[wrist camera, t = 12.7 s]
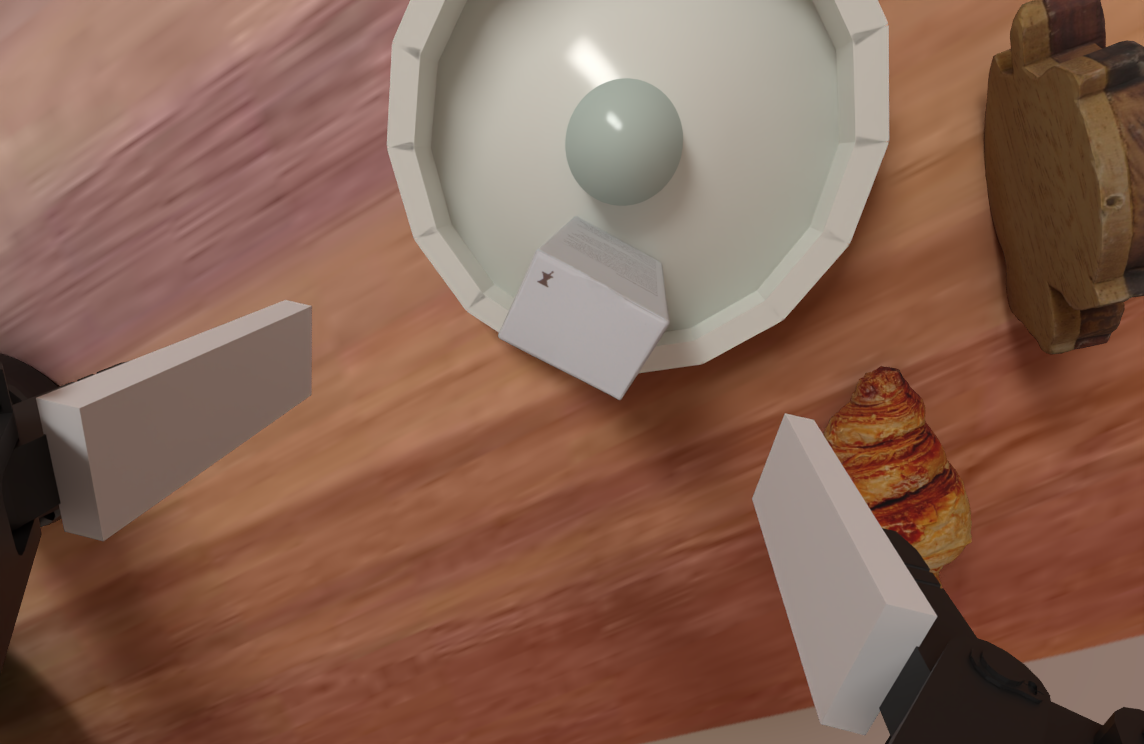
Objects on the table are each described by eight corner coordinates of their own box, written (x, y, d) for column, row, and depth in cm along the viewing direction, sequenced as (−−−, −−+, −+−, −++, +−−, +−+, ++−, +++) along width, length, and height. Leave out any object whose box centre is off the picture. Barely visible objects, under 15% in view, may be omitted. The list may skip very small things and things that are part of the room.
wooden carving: (1081, 304, 31) (1265, 366, 22) (992, 333, 32) (1130, 404, 23) (1026, -2, 26) (1229, -88, 17) (925, 47, 28) (1064, -10, 18)
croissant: (886, 582, 43) (989, 657, 36) (783, 635, 41) (872, 727, 34) (892, 332, 36) (1023, 365, 29) (766, 377, 33) (876, 425, 26)
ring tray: (401, 306, 36) (377, 321, 33) (435, -175, 27) (405, -220, 24) (772, 390, 35) (784, 414, 32) (946, -85, 26) (988, -119, 22)
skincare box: (543, 277, 33) (491, 336, 22) (575, 213, 32) (535, 243, 21) (630, 324, 34) (620, 405, 23) (666, 263, 32) (674, 319, 21)
